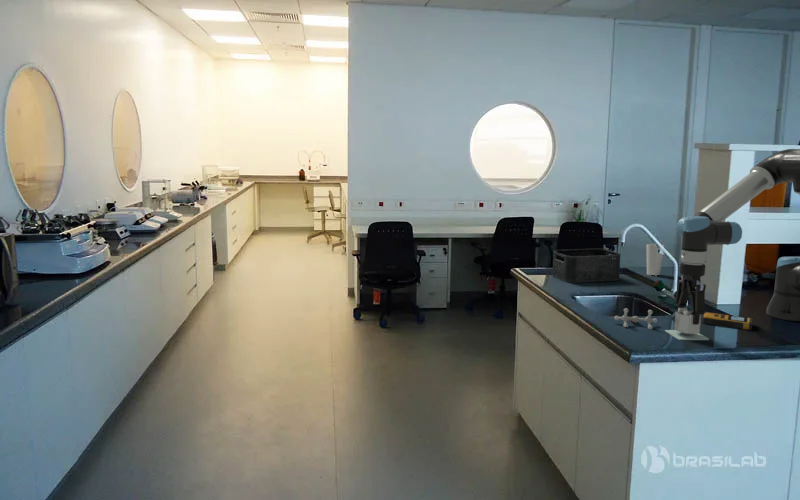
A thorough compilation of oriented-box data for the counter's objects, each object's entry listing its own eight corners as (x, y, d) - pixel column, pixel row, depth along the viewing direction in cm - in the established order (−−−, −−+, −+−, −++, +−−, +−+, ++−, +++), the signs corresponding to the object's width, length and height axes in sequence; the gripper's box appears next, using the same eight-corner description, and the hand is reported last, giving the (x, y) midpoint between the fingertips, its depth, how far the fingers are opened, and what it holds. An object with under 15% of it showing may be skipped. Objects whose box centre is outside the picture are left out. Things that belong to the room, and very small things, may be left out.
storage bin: (567, 283, 277) (569, 255, 275) (549, 275, 296) (550, 249, 294) (622, 281, 283) (623, 254, 281) (601, 273, 301) (602, 248, 299)
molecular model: (612, 331, 215) (617, 330, 205) (611, 310, 216) (616, 308, 206) (654, 330, 212) (661, 329, 202) (652, 309, 214) (659, 307, 204)
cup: (645, 276, 295) (647, 245, 293) (642, 272, 303) (645, 243, 301) (663, 276, 293) (666, 246, 291) (660, 273, 301) (662, 244, 299)
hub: (691, 327, 200) (693, 310, 199) (703, 333, 193) (704, 316, 192) (671, 327, 200) (672, 310, 199) (681, 333, 193) (683, 316, 192)
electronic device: (703, 319, 218) (704, 311, 218) (752, 326, 210) (752, 316, 210) (701, 325, 211) (702, 316, 211) (751, 331, 203) (752, 322, 203)
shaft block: (693, 331, 202) (695, 307, 200) (709, 340, 192) (711, 315, 191) (664, 331, 202) (666, 307, 200) (679, 340, 192) (681, 315, 190)
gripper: (667, 257, 203) (662, 321, 206) (697, 268, 183) (691, 339, 186) (688, 257, 203) (683, 321, 207) (721, 268, 183) (714, 339, 187)
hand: (687, 329), depth 196 cm, fingers closed on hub, 7 cm apart
